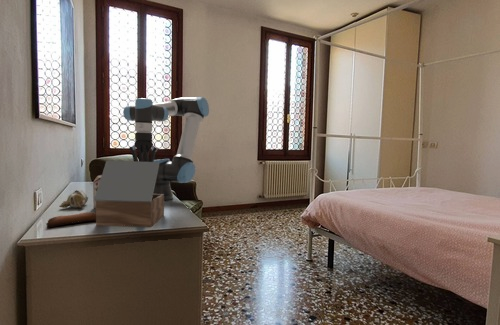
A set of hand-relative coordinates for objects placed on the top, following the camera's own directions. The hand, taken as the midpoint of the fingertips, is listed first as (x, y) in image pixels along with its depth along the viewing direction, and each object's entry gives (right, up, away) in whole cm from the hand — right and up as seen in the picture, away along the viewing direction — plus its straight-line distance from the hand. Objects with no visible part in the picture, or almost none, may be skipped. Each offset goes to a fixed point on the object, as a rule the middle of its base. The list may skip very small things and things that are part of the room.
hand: (143, 182), depth 142 cm
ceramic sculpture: (-37, -13, +9) cm, 40 cm away
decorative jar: (-21, -13, +12) cm, 28 cm away
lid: (0, +2, -17) cm, 17 cm away
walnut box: (-1, -16, -12) cm, 20 cm away
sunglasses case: (-23, -16, -18) cm, 33 cm away
